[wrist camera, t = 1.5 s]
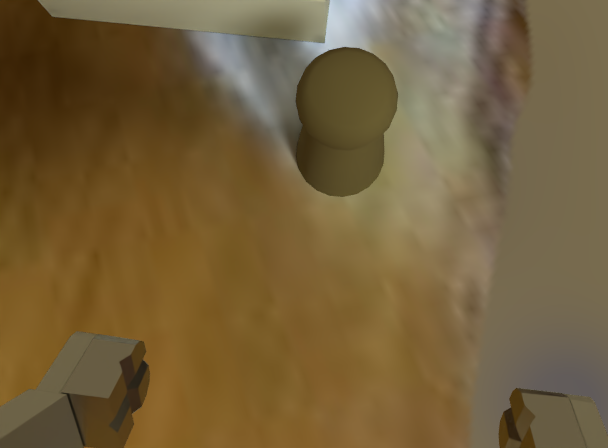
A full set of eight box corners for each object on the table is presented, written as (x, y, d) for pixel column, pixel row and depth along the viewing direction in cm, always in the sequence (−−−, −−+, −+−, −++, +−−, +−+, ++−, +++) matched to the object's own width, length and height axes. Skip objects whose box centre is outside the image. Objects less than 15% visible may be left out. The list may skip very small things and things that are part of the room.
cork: (354, 213, 36) (368, 168, 25) (279, 166, 36) (261, 103, 26) (401, 140, 37) (434, 66, 26) (326, 96, 37) (328, 5, 26)
